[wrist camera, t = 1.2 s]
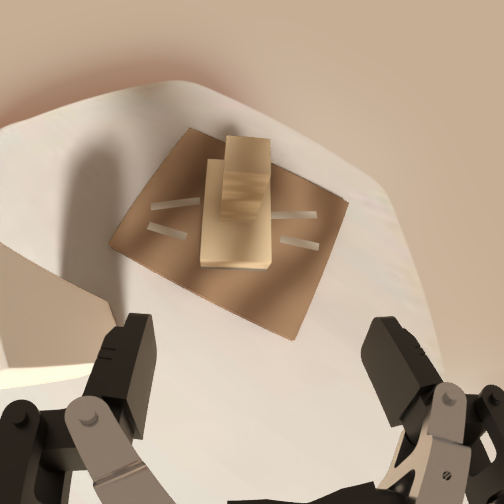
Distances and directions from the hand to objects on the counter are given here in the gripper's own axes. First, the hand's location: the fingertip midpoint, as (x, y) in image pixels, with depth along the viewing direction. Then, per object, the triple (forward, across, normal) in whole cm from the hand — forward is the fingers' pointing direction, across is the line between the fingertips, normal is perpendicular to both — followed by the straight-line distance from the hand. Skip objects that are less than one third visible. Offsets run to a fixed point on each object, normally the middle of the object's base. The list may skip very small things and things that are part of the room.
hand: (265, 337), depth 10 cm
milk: (+12, +14, +13) cm, 23 cm away
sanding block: (+20, 0, +4) cm, 21 cm away
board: (+21, 0, +4) cm, 21 cm away
